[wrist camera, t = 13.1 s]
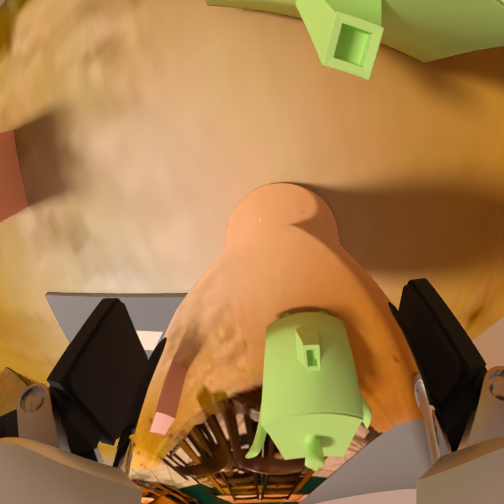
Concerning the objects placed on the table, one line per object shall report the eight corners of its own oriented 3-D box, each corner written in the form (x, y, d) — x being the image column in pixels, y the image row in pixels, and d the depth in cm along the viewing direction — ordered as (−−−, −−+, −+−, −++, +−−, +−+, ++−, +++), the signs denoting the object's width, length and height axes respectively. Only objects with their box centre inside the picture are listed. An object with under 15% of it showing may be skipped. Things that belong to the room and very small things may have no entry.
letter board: (212, 293, 18) (211, 296, 17) (242, 418, 24) (241, 421, 24) (47, 292, 20) (44, 294, 19) (111, 402, 26) (109, 404, 26)
